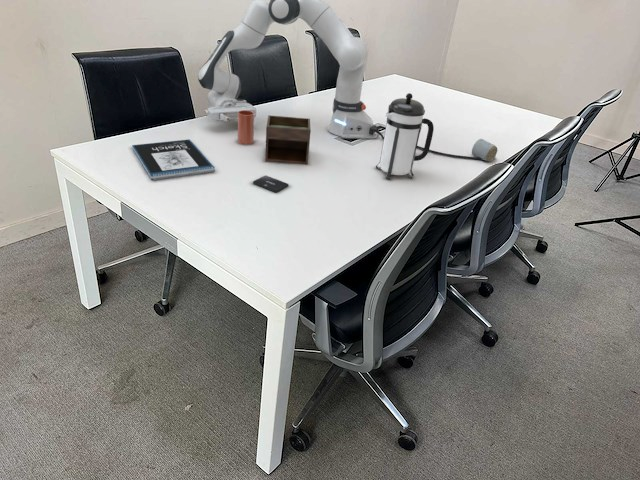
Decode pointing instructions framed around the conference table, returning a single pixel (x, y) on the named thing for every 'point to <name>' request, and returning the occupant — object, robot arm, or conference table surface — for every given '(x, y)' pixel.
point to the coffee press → (403, 136)
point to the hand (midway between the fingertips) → (238, 118)
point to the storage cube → (287, 139)
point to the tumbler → (245, 127)
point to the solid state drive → (270, 183)
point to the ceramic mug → (484, 150)
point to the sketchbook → (172, 159)
